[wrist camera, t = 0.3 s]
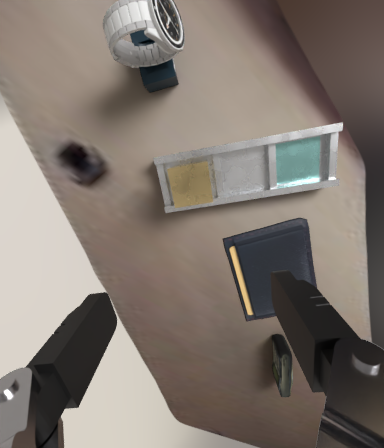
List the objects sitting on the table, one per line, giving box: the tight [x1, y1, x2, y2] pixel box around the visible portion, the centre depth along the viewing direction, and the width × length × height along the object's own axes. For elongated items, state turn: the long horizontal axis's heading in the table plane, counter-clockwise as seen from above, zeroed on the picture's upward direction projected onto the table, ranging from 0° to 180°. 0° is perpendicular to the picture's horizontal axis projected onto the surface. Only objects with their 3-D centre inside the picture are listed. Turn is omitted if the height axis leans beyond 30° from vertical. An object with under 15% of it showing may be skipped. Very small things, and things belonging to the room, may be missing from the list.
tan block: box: [167, 160, 213, 208], centre depth 28 cm, size 5×5×7 cm
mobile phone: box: [272, 334, 293, 397], centre depth 42 cm, size 5×3×15 cm
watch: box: [103, 0, 185, 93], centre depth 22 cm, size 6×8×11 cm
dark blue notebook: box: [223, 218, 317, 321], centre depth 37 cm, size 20×2×15 cm
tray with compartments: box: [153, 122, 343, 213], centre depth 30 cm, size 8×26×3 cm, turn 100°
